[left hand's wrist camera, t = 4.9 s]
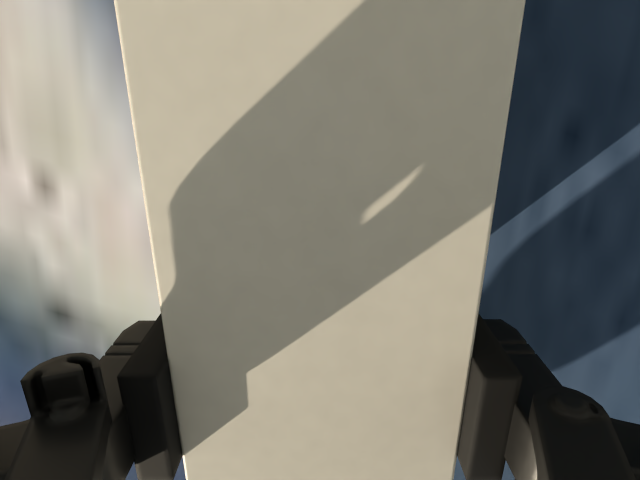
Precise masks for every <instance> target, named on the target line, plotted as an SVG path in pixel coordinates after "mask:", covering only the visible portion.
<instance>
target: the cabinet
mask: <svg viewBox="0 0 640 480" xmlns="http://www.w3.org/2000/svg"><path fill="white" fill-rule="evenodd" d="M114 3H115V10H116V17H117V23H118V30H119V37H120V43H121V50H122V56H123V63H124V70H125V76H126V83H127V90H128V96H129V103H130V110H131V116H132V123H133V129H134V136H135V143H136V149H137V156H138V163H139V169H140V176H141V183H142V189H143V196H144V202H145V209H146V216H147V222H148V229H149V236H150V242H151V249H152V256H153V262H154V269H155V275H156V282H157V289H158V295H159V302H160V309H161V315H162V322H163V329H164V335H165V342H166V349H167V355H168V362H169V368H170V375H171V382H172V388H173V395H174V402H175V408H176V415H177V422H178V428H179V435H180V441H181V448H182V455H183V461H184V468H185V475H186V480H453V478H454V471H455V464H456V458H457V451H458V444H459V438H460V431H461V424H462V418H463V411H464V405H465V398H466V391H467V385H468V378H469V371H470V365H471V358H472V352H473V345H474V338H475V332H476V325H477V318H478V312H479V305H480V299H481V292H482V285H483V279H484V272H485V265H486V259H487V252H488V245H489V239H490V232H491V226H492V219H493V212H494V206H495V199H496V192H497V186H498V179H499V173H500V166H501V159H502V153H503V146H504V139H505V133H506V126H507V119H508V113H509V106H510V100H511V93H512V86H513V80H514V73H515V66H516V60H517V53H518V47H519V40H520V33H521V27H522V20H523V13H524V7H525V0H114Z"/></svg>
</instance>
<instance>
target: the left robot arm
mask: <svg viewBox="0 0 640 480" xmlns="http://www.w3.org/2000/svg"><path fill="white" fill-rule="evenodd" d="M20 382H21V385H22V388H23V391H24V395H25V398H26V401H27V404H28V408H29V411H30V414H31V418H30V419H29V420H26V421H23V422H18V423H14V424H9V425H5V426H0V480H125V478H126V476H127V474H128V472H129V470H130V468H131V466H132V464H133V462H135V467H136V472H137V477H138V480H173V479H174V476H175V474H176V471H177V468H178V466H179V463H180V460H181V458H182V448H181V441H180V435H179V428H178V422H177V415H176V408H175V402H174V395H173V388H172V382H171V375H170V368H169V362H168V355H167V349H166V342H165V335H164V329H163V322H162V315H161V314H160V315H159V317H158V318H157V320H156V321H138V322H136V323H135V324H133V325H132V326H130V327H128V328H127V329H125V330H124V331H123V332H122V333H121V334H120V335H119V337H118V338H117V339H116V340H115V342H114V343H113V345H111V347H110V348H109V349H108V350H107V352H106V353H105V356H103V357H102V358H101V359H100V360H99V359H97V358H96V357H95V356H94V355H91V354H86V353H72V354H66V355H62V356H58V357H54V358H52V359H50V360H47V361H45V362H43V363H41V364H39V365H37V366H36V367H35V368H33V369H32V370H30V371H29V372H27V374H26V375H25V376H24V377H23V379H22V380H21V381H20ZM457 456H458V459H459V461H460V464H461V467H462V470H463V472H464V475H465V478H466V480H502V475H503V470H504V465H505V460H506V461H507V463H508V465H509V467H510V469H511V471H512V473H513V475H514V477H515V480H640V425H639V424H634V423H630V422H625V421H621V420H617V419H613V418H610V417H609V415H608V414H607V413H606V411H605V410H604V408H603V407H602V406H601V405H600V404H598V403H597V402H596V401H595V400H593V399H592V398H591V397H589V396H587V395H585V394H583V393H581V392H579V391H577V390H574V389H570V388H567V387H563V386H562V385H561V384H560V383H559V381H558V380H557V379H556V378H555V376H554V375H553V374H552V373H551V371H550V370H549V369H548V368H547V366H546V365H545V364H544V363H543V362H542V360H541V359H540V358H539V357H538V355H537V354H535V353H534V350H533V349H532V348H531V347H530V345H529V344H527V343H526V341H525V339H524V338H523V337H522V336H521V334H520V333H519V332H518V331H517V330H516V329H515V328H513V327H512V326H510V325H509V324H507V323H506V322H504V321H503V320H501V319H482V318H481V316H480V315H479V313H478V318H477V325H476V332H475V338H474V345H473V352H472V358H471V365H470V371H469V378H468V385H467V391H466V398H465V405H464V411H463V418H462V424H461V431H460V438H459V444H458V451H457Z"/></svg>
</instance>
